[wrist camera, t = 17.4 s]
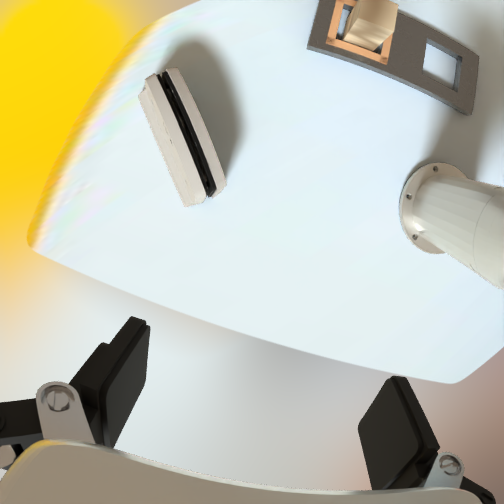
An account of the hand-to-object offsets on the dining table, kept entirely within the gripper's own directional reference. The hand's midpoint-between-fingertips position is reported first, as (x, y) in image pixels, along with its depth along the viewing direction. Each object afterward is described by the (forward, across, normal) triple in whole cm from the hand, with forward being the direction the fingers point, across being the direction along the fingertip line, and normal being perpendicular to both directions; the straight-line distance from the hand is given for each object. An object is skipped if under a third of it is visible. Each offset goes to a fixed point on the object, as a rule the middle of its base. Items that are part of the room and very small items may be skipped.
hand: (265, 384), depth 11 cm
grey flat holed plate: (+30, -11, -28) cm, 42 cm away
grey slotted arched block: (+31, +12, -7) cm, 34 cm away
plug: (+30, -5, -27) cm, 41 cm away
